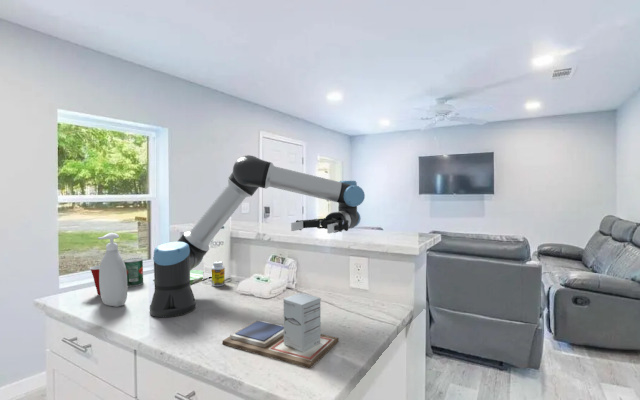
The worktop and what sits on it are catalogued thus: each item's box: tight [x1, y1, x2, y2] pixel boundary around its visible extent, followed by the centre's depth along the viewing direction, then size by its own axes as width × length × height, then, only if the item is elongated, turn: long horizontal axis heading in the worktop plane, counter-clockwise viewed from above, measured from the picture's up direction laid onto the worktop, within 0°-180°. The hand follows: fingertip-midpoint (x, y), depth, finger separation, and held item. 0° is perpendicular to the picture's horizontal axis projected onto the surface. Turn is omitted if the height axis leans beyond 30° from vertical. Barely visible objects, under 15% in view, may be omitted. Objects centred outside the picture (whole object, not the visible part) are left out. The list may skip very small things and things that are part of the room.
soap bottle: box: [97, 232, 128, 308], centre depth 127 cm, size 14×8×27 cm, turn 62°
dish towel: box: [152, 269, 204, 285], centre depth 162 cm, size 18×23×3 cm
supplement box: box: [283, 292, 321, 352], centre depth 92 cm, size 7×7×13 cm
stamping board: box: [222, 319, 339, 369], centre depth 95 cm, size 28×16×2 cm, turn 62°
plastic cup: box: [89, 264, 101, 297], centre depth 141 cm, size 11×11×12 cm
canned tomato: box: [123, 257, 144, 287], centre depth 155 cm, size 8×8×11 cm
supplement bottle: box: [211, 260, 226, 287], centre depth 152 cm, size 6×6×10 cm
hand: (309, 228), depth 111 cm, fingers open, 13 cm apart
